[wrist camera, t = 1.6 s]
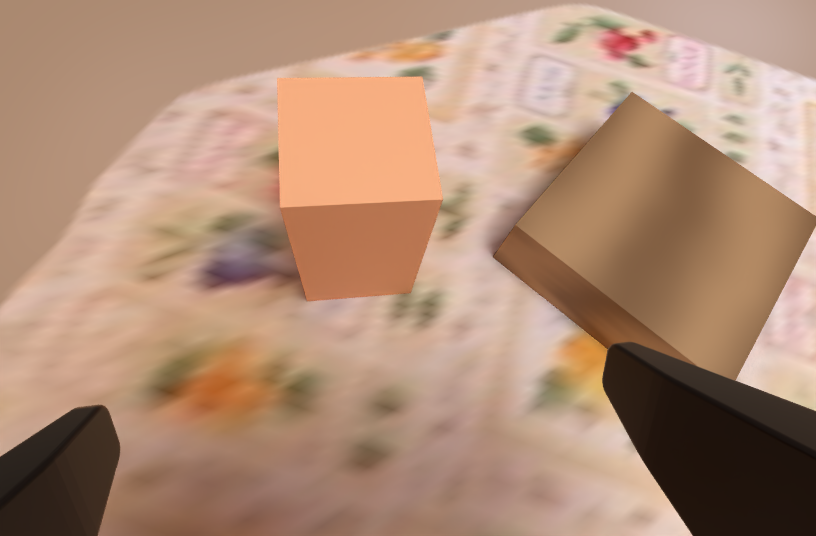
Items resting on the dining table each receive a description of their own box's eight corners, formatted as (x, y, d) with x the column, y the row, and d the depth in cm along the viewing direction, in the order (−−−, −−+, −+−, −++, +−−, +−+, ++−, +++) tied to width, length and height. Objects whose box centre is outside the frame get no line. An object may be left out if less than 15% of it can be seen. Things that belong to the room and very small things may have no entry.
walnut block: (754, 252, 27) (819, 218, 23) (668, 402, 23) (729, 391, 19) (595, 139, 28) (632, 91, 25) (490, 260, 25) (515, 224, 21)
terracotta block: (410, 292, 23) (442, 199, 15) (307, 301, 22) (280, 207, 14) (399, 204, 25) (422, 76, 16) (303, 209, 24) (277, 78, 16)
